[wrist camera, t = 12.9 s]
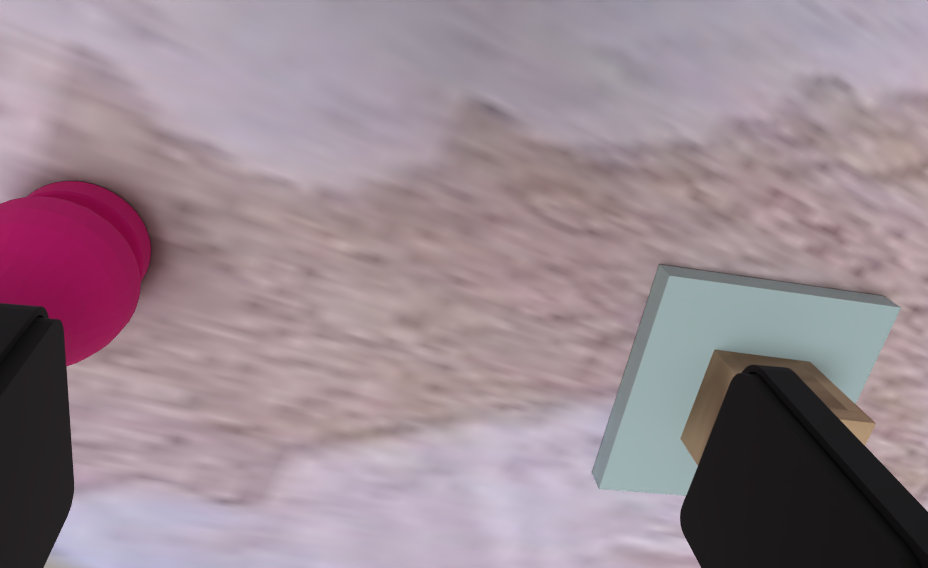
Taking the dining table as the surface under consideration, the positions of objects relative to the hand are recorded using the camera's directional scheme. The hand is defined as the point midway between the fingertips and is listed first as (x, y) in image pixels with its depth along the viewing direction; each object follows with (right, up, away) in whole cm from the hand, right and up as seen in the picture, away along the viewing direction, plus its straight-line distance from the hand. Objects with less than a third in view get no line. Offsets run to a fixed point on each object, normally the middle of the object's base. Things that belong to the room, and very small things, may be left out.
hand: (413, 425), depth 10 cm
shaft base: (+17, -4, +34) cm, 38 cm away
